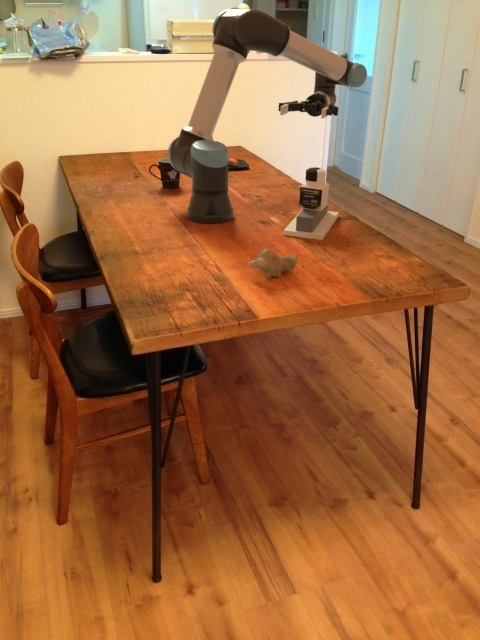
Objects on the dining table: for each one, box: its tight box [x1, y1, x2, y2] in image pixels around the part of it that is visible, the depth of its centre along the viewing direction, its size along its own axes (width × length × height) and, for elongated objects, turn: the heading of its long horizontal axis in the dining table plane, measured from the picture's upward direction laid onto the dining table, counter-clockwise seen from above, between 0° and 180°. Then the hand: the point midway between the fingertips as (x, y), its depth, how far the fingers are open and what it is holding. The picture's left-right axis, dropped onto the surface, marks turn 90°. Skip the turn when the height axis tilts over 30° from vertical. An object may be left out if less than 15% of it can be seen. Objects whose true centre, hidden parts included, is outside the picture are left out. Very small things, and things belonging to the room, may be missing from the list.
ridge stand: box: [283, 198, 339, 241], centre depth 187 cm, size 24×12×6 cm, turn 160°
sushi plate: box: [228, 158, 250, 170], centre depth 261 cm, size 29×30×4 cm
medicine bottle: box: [298, 166, 330, 211], centre depth 183 cm, size 7×7×12 cm
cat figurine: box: [247, 248, 299, 278], centre depth 152 cm, size 8×7×12 cm
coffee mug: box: [148, 157, 181, 190], centre depth 225 cm, size 12×9×10 cm
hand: (301, 112), depth 190 cm, fingers open, 13 cm apart
